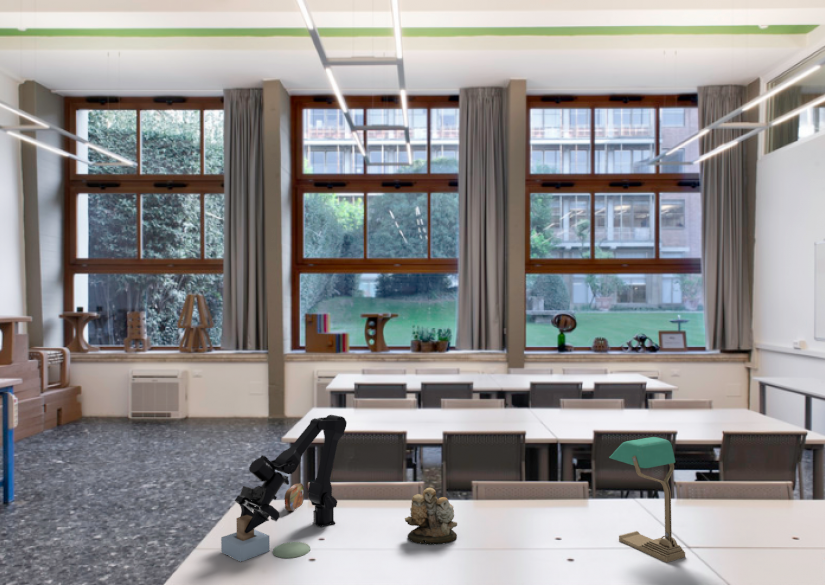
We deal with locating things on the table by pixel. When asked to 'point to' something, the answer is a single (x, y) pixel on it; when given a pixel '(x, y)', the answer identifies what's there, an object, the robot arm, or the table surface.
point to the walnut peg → (241, 527)
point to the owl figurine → (431, 519)
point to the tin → (294, 497)
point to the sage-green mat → (291, 550)
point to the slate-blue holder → (245, 546)
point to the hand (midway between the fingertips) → (241, 531)
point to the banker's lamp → (658, 454)
